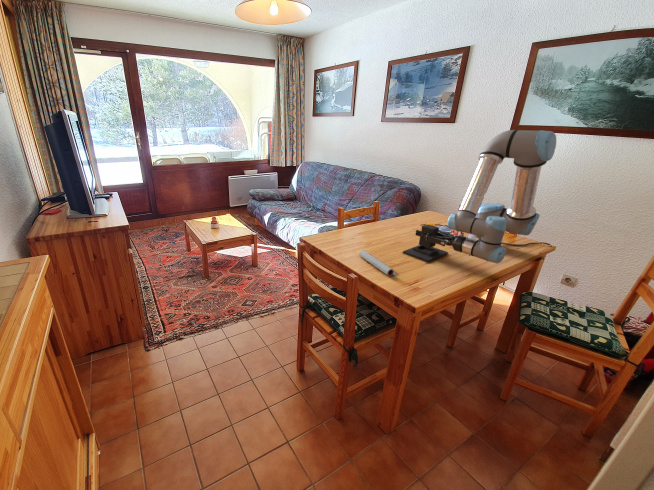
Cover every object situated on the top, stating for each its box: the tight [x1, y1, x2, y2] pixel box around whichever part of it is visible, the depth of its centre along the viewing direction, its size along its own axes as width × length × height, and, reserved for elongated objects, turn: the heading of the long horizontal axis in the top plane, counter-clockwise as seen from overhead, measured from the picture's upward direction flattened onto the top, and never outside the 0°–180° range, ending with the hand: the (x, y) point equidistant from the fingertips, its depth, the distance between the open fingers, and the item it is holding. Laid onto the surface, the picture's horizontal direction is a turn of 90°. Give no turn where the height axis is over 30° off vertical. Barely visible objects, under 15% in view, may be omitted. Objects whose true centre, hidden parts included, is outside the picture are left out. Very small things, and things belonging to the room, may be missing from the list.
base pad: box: [402, 244, 449, 263], centre depth 160 cm, size 18×14×3 cm
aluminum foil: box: [359, 250, 398, 277], centre depth 147 cm, size 23×7×3 cm, turn 19°
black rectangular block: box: [418, 224, 440, 248], centre depth 157 cm, size 5×6×10 cm
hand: (419, 231), depth 161 cm, fingers closed on black rectangular block, 5 cm apart
